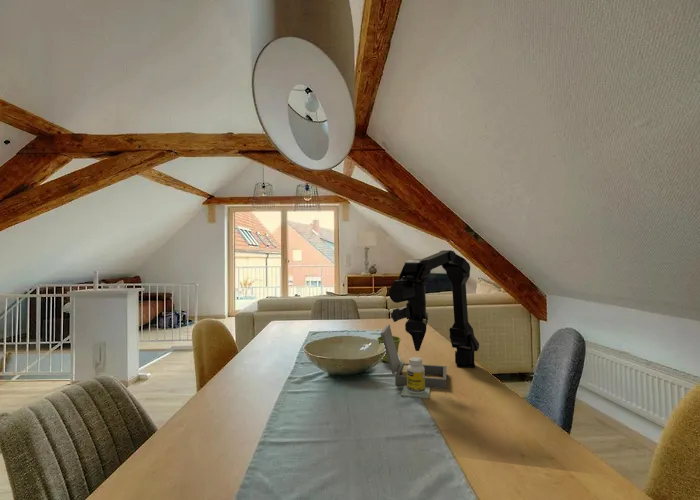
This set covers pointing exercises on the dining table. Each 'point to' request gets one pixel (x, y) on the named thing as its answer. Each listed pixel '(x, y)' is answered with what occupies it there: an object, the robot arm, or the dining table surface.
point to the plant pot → (396, 341)
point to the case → (429, 382)
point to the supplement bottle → (415, 376)
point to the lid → (390, 348)
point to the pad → (421, 395)
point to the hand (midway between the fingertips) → (418, 346)
